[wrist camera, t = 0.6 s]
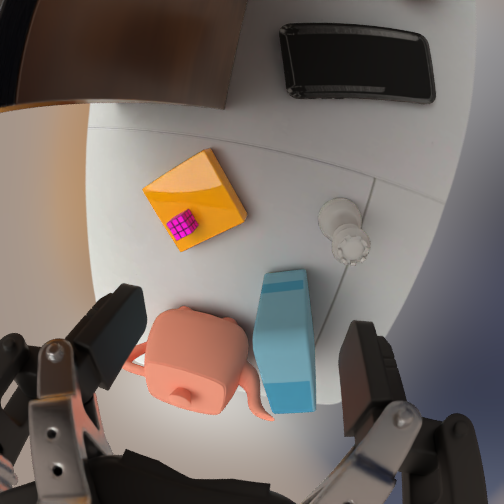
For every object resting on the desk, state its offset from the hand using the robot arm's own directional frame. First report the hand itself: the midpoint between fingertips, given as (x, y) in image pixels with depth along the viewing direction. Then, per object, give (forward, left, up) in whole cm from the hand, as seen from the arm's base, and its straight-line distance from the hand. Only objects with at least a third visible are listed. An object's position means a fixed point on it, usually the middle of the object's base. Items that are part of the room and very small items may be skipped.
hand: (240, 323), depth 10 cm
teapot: (+20, +9, -20) cm, 29 cm away
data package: (+8, +12, -20) cm, 25 cm away
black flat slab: (-7, -21, +3) cm, 23 cm away
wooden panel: (-7, -21, -20) cm, 30 cm away
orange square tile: (+7, -5, -20) cm, 22 cm away
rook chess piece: (-3, +6, -20) cm, 21 cm away
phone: (-15, -5, -20) cm, 25 cm away
